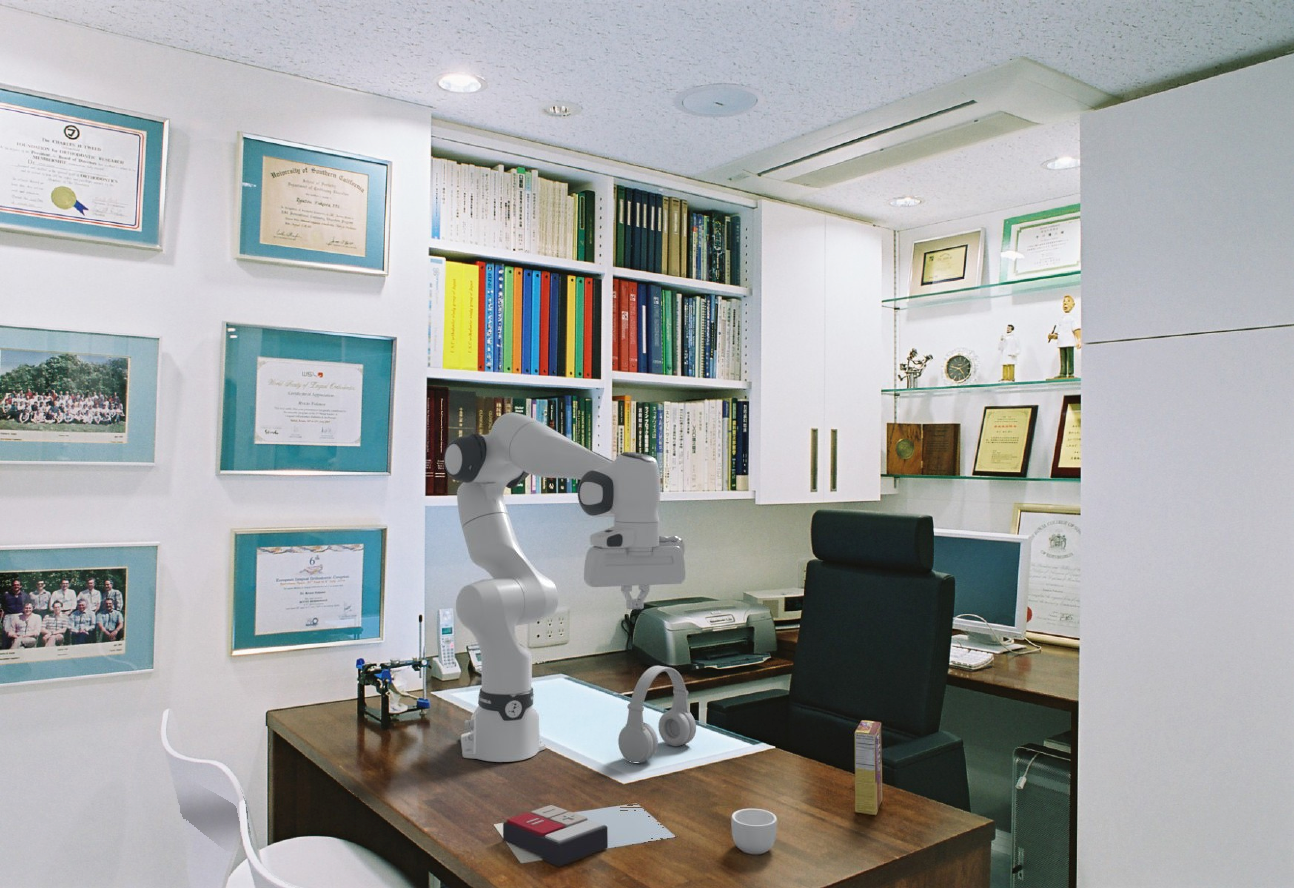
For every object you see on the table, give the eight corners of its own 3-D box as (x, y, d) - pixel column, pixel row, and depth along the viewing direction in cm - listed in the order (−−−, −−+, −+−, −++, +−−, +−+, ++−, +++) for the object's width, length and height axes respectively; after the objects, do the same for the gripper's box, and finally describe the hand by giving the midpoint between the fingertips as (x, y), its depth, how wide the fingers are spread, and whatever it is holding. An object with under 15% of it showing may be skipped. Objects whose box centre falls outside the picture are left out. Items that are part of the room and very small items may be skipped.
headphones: (667, 739, 217) (669, 657, 217) (697, 746, 212) (699, 662, 212) (615, 760, 200) (617, 671, 201) (647, 768, 195) (648, 677, 196)
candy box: (860, 796, 181) (861, 719, 181) (882, 800, 179) (883, 721, 180) (852, 812, 173) (854, 730, 173) (876, 815, 171) (877, 733, 171)
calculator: (551, 801, 165) (608, 821, 154) (551, 826, 164) (609, 847, 154) (501, 817, 157) (558, 839, 146) (502, 843, 156) (558, 867, 146)
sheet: (493, 825, 163) (493, 824, 163) (636, 804, 175) (636, 803, 175) (521, 863, 148) (521, 862, 148) (676, 837, 159) (676, 836, 159)
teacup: (766, 862, 150) (767, 829, 150) (723, 852, 154) (724, 820, 154) (787, 840, 159) (787, 809, 159) (745, 831, 162) (746, 801, 163)
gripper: (677, 534, 183) (676, 603, 183) (581, 536, 175) (580, 608, 174) (691, 537, 177) (690, 608, 177) (593, 538, 169) (591, 613, 169)
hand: (634, 608), depth 176 cm, fingers closed
